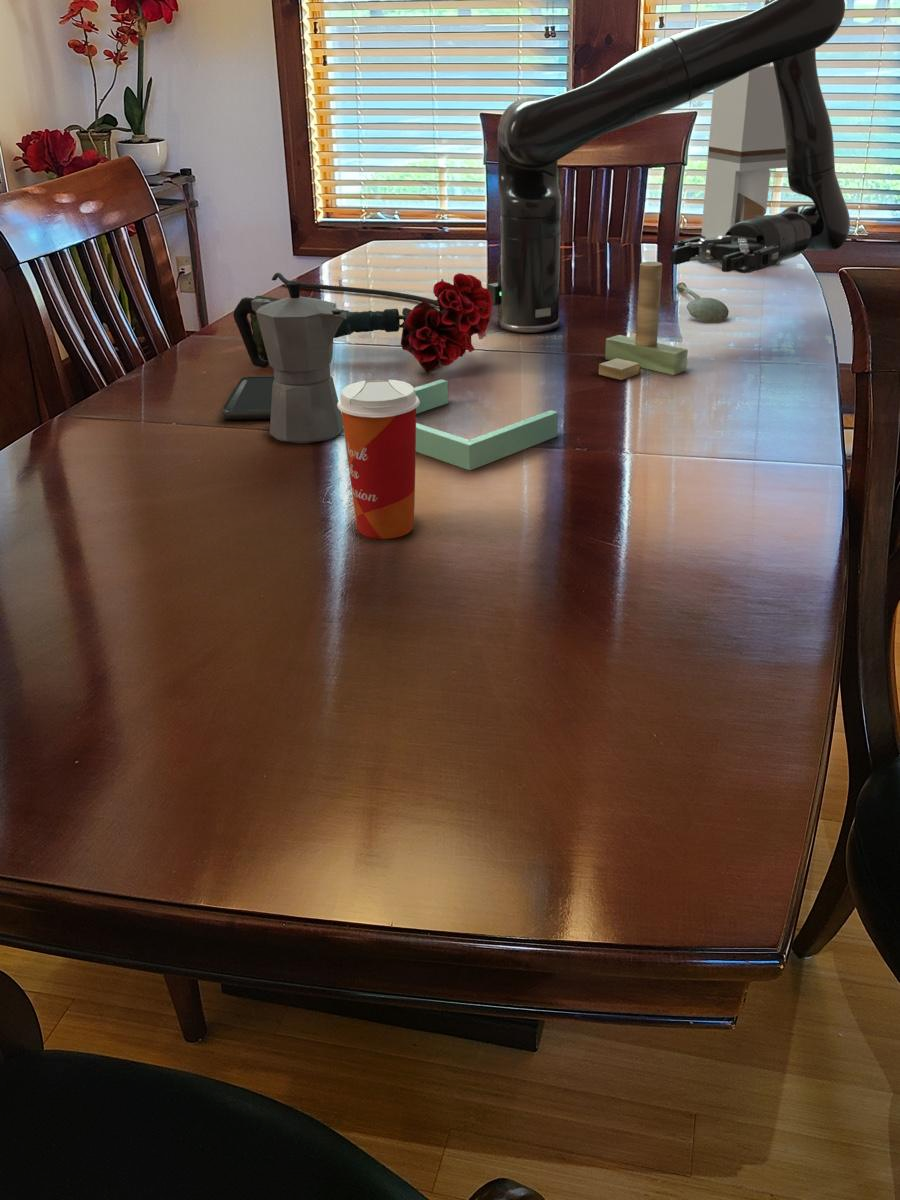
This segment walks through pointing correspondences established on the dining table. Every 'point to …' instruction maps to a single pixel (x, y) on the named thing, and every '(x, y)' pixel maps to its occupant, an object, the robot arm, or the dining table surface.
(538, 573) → the dining table surface
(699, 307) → the soupspoon
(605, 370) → the beige square block
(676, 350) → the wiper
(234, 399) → the phone
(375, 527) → the paper cup
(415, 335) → the carnation
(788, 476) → the dining table surface
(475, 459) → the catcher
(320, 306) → the coffeepot
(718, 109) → the white pillar
